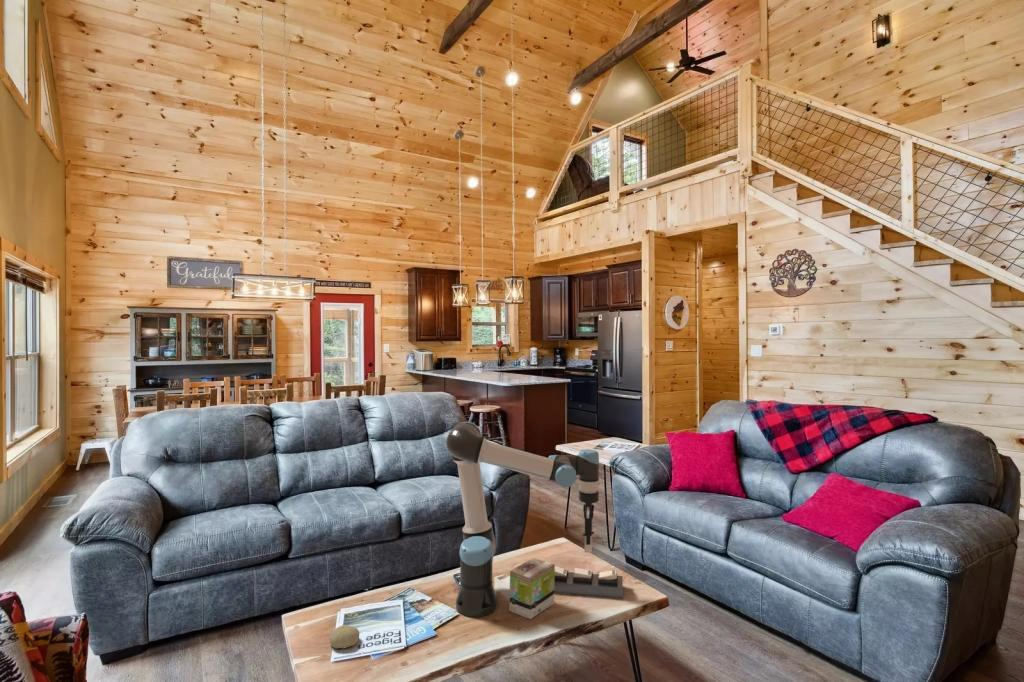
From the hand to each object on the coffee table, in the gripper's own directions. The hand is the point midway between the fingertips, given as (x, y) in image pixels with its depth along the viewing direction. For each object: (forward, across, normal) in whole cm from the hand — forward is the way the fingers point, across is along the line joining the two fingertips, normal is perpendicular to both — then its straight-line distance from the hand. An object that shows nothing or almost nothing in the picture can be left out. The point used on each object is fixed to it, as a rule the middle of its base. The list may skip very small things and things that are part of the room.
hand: (588, 551), depth 209 cm
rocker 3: (+9, 0, -8) cm, 11 cm away
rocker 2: (+9, 0, +2) cm, 9 cm away
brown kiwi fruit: (+16, -50, +75) cm, 91 cm away
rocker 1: (+9, 0, +12) cm, 15 cm away
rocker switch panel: (+15, 0, +2) cm, 15 cm away
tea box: (+15, -17, +19) cm, 30 cm away
